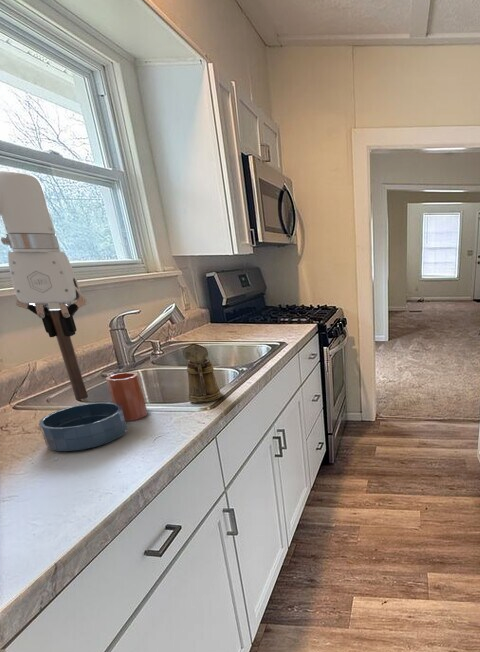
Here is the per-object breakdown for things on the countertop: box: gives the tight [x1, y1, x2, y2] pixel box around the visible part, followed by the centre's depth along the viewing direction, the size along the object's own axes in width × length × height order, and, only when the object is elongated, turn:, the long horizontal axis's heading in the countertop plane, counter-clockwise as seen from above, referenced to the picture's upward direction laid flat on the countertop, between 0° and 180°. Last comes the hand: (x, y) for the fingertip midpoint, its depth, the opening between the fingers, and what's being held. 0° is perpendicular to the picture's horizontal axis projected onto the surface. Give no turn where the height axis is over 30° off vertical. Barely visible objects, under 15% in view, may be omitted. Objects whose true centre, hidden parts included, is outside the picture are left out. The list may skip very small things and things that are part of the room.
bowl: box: [38, 401, 128, 452], centre depth 92 cm, size 15×15×6 cm
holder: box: [105, 371, 148, 422], centre depth 103 cm, size 7×7×11 cm
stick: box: [48, 308, 89, 400], centre depth 89 cm, size 2×2×20 cm
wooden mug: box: [182, 343, 222, 404], centre depth 112 cm, size 9×14×18 cm, turn 23°
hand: (62, 334), depth 87 cm, fingers closed on stick, 2 cm apart
